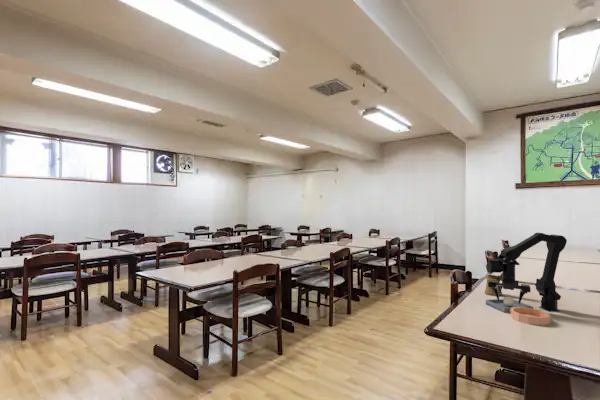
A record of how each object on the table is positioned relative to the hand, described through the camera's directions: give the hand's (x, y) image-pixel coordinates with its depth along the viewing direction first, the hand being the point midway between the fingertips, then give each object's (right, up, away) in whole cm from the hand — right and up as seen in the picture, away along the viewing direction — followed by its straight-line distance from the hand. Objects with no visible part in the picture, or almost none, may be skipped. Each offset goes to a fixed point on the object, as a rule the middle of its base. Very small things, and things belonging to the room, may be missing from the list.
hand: (508, 302), depth 171 cm
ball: (0, 0, 0) cm, 0 cm away
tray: (0, -3, 0) cm, 3 cm away
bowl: (-1, -3, -17) cm, 18 cm away
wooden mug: (+9, -4, +25) cm, 27 cm away
